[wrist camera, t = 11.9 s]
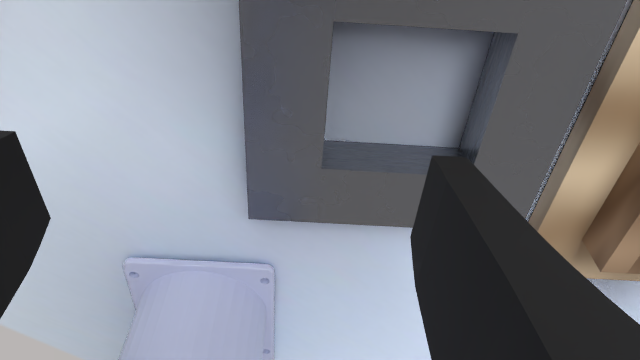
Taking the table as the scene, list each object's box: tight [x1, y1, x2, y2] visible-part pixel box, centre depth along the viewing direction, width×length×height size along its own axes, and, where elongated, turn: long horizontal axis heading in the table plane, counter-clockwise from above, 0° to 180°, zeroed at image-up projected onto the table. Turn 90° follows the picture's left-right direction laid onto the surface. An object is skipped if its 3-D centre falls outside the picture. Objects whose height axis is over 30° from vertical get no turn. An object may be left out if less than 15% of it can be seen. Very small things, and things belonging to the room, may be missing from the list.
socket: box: [239, 0, 627, 227], centre depth 18 cm, size 12×12×2 cm
